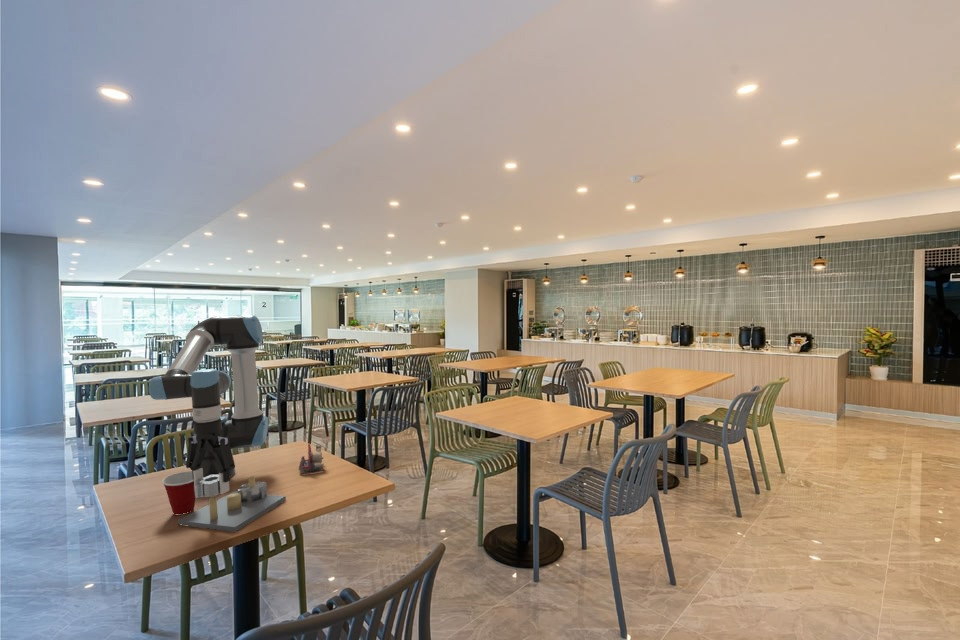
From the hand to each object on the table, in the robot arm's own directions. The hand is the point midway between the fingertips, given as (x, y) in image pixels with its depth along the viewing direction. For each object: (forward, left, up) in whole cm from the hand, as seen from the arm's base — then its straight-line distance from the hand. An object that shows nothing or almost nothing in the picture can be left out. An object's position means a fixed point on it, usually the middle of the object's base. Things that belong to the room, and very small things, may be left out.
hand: (211, 491), depth 140 cm
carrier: (0, +8, -11) cm, 13 cm away
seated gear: (0, +16, -9) cm, 19 cm away
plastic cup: (-18, +5, -11) cm, 22 cm away
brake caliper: (+1, +47, -11) cm, 48 cm away
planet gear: (0, 0, 0) cm, 0 cm away
